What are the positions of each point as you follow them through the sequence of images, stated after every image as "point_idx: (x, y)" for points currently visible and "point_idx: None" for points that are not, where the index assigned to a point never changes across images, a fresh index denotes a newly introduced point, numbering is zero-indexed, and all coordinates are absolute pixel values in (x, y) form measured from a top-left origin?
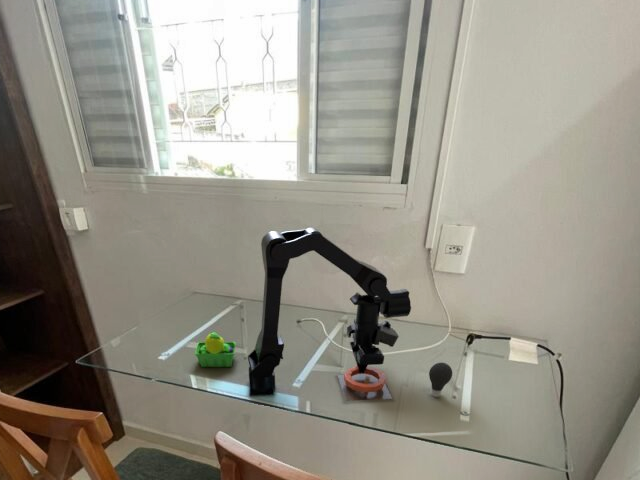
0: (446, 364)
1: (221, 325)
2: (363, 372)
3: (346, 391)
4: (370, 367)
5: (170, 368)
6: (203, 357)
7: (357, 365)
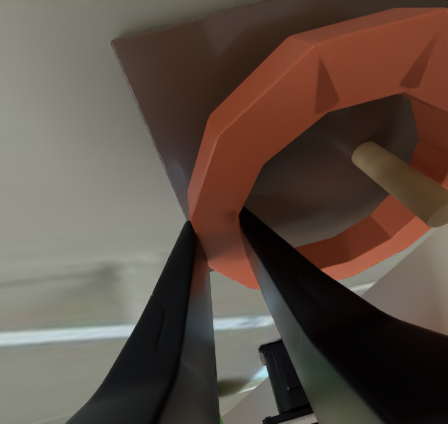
0: None
1: None
2: (246, 209)
3: (339, 228)
4: (210, 186)
5: (223, 403)
6: (221, 421)
7: (208, 267)
